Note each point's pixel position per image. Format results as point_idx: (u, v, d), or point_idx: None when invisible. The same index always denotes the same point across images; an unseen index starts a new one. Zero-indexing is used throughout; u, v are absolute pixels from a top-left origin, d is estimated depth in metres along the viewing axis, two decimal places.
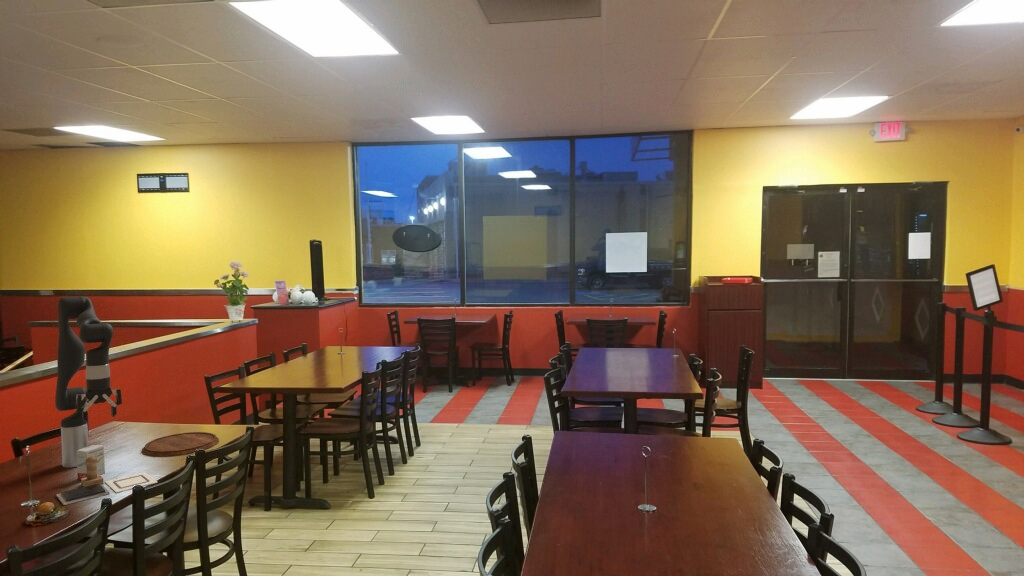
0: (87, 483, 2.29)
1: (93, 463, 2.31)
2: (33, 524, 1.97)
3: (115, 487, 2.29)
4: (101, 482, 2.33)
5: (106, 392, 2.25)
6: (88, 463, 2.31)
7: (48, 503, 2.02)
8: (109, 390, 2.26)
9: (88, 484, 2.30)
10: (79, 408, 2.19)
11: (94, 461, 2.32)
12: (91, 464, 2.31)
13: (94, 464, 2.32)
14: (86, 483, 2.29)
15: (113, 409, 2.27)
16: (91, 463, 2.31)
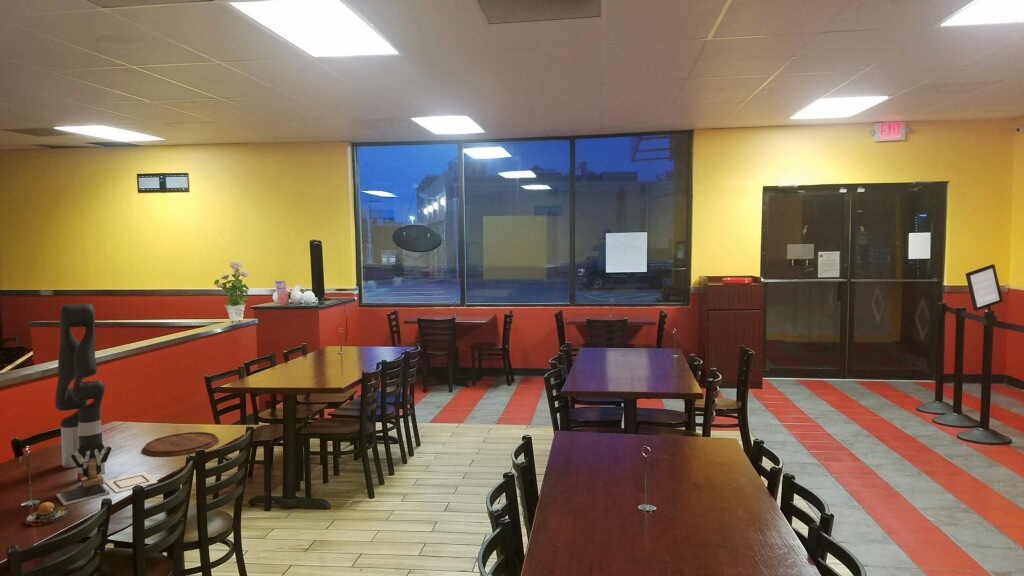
0: (87, 483, 2.29)
1: (93, 463, 2.31)
2: (33, 524, 1.97)
3: (115, 487, 2.29)
4: (101, 482, 2.33)
5: (98, 446, 2.33)
6: (88, 463, 2.31)
7: (48, 503, 2.02)
8: (102, 445, 2.34)
9: (88, 484, 2.30)
10: (79, 465, 2.29)
11: (94, 461, 2.32)
12: (91, 464, 2.31)
13: (94, 464, 2.32)
14: (86, 483, 2.29)
15: (98, 467, 2.33)
16: (91, 463, 2.31)
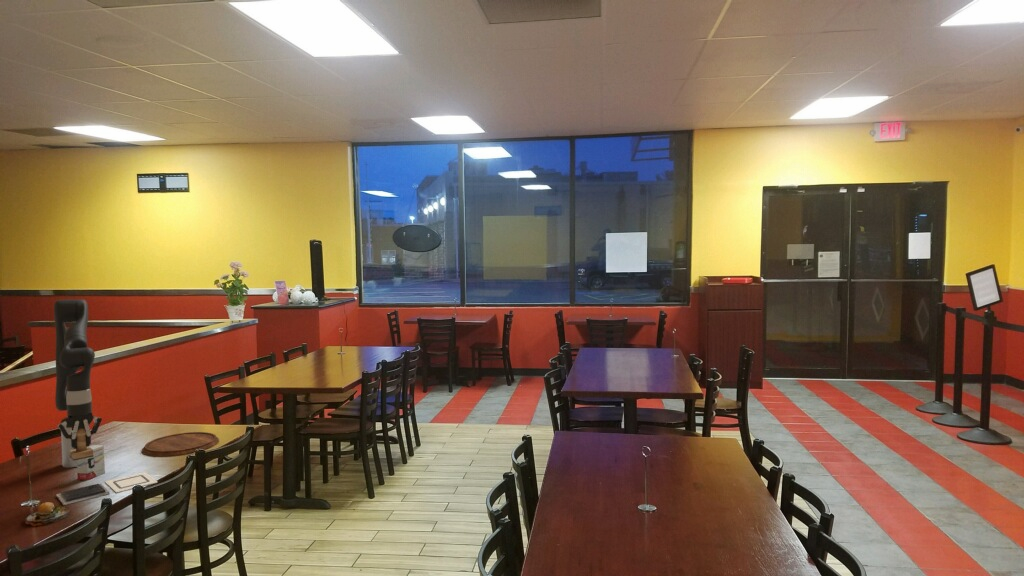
0: (76, 455, 2.18)
1: (82, 434, 2.20)
2: (33, 524, 1.97)
3: (115, 487, 2.29)
4: (91, 454, 2.21)
5: (88, 416, 2.22)
6: (77, 434, 2.20)
7: (48, 503, 2.02)
8: (92, 415, 2.23)
9: (77, 456, 2.18)
10: (68, 436, 2.18)
11: (83, 432, 2.21)
12: (80, 435, 2.20)
13: (83, 435, 2.21)
14: (75, 455, 2.18)
15: (87, 439, 2.22)
16: (80, 434, 2.20)
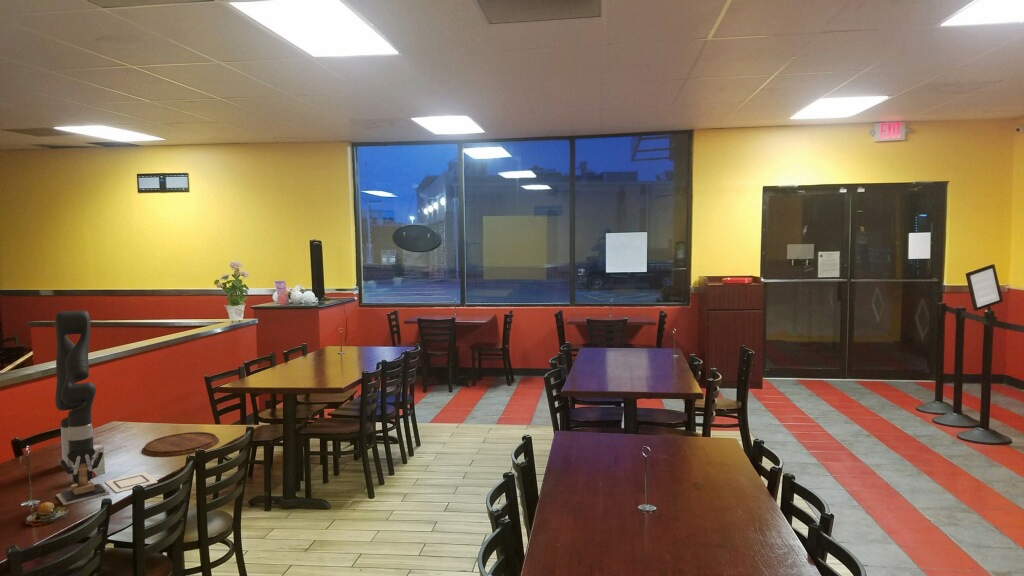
0: (77, 490, 2.19)
1: (83, 469, 2.21)
2: (33, 524, 1.97)
3: (115, 487, 2.29)
4: (92, 489, 2.22)
5: (89, 451, 2.23)
6: (78, 469, 2.20)
7: (48, 503, 2.02)
8: (93, 450, 2.24)
9: (78, 491, 2.19)
10: (69, 471, 2.18)
11: (85, 467, 2.21)
12: (82, 470, 2.21)
13: (85, 470, 2.21)
14: (76, 490, 2.18)
15: (89, 473, 2.23)
16: (81, 469, 2.20)
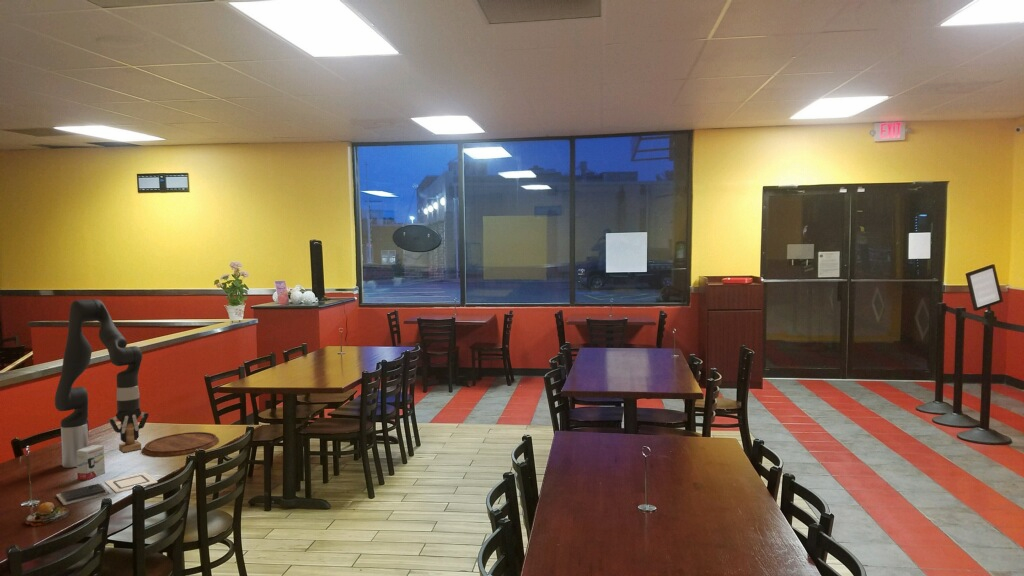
0: (126, 448, 2.30)
1: (131, 429, 2.33)
2: (33, 524, 1.97)
3: (115, 487, 2.29)
4: (139, 447, 2.34)
5: (136, 412, 2.35)
6: (126, 428, 2.32)
7: (48, 503, 2.02)
8: (139, 411, 2.35)
9: (126, 449, 2.31)
10: (118, 430, 2.30)
11: (132, 426, 2.33)
12: (129, 429, 2.32)
13: (132, 429, 2.33)
14: (125, 448, 2.30)
15: (135, 433, 2.35)
16: (129, 429, 2.32)
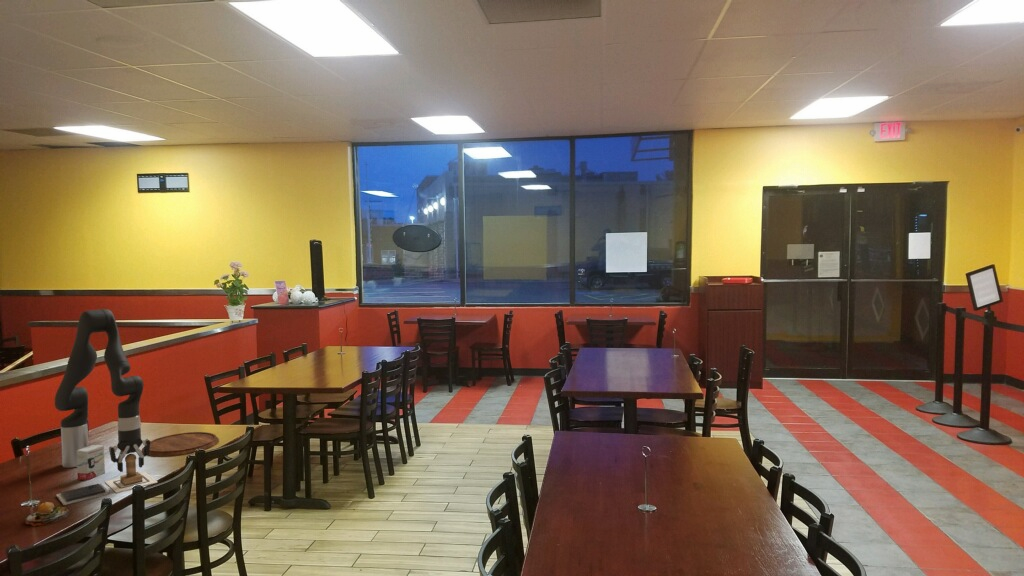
0: (127, 480, 2.31)
1: (132, 461, 2.33)
2: (33, 524, 1.97)
3: (115, 487, 2.29)
4: (140, 479, 2.35)
5: (137, 442, 2.35)
6: (128, 460, 2.33)
7: (48, 503, 2.02)
8: (140, 440, 2.36)
9: (128, 481, 2.31)
10: (115, 460, 2.30)
11: (133, 458, 2.34)
12: (130, 461, 2.33)
13: (133, 461, 2.34)
14: (126, 480, 2.31)
15: (141, 460, 2.36)
16: (130, 461, 2.33)
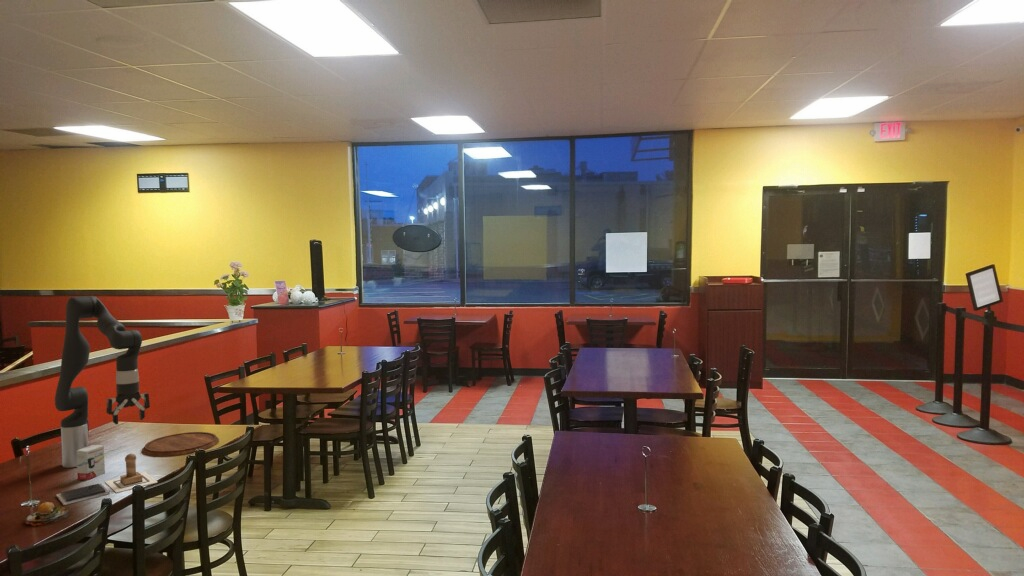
0: (127, 480, 2.31)
1: (132, 461, 2.33)
2: (33, 524, 1.97)
3: (115, 487, 2.29)
4: (140, 479, 2.35)
5: (135, 396, 2.35)
6: (128, 460, 2.33)
7: (48, 503, 2.02)
8: (138, 394, 2.35)
9: (128, 481, 2.31)
10: (110, 412, 2.28)
11: (133, 458, 2.34)
12: (130, 461, 2.33)
13: (133, 461, 2.34)
14: (126, 480, 2.31)
15: (141, 413, 2.36)
16: (130, 461, 2.33)
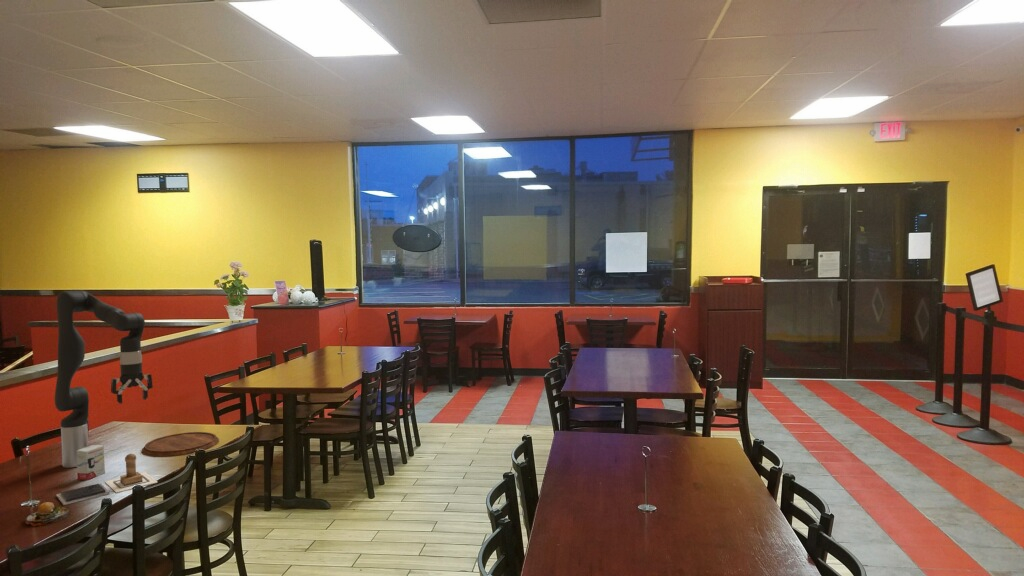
0: (127, 480, 2.31)
1: (132, 461, 2.33)
2: (33, 524, 1.97)
3: (115, 487, 2.29)
4: (140, 479, 2.35)
5: (138, 377, 2.43)
6: (128, 460, 2.33)
7: (48, 503, 2.02)
8: (141, 375, 2.44)
9: (128, 481, 2.31)
10: (114, 391, 2.37)
11: (133, 458, 2.34)
12: (130, 461, 2.33)
13: (133, 461, 2.34)
14: (126, 480, 2.31)
15: (145, 393, 2.45)
16: (130, 461, 2.33)
